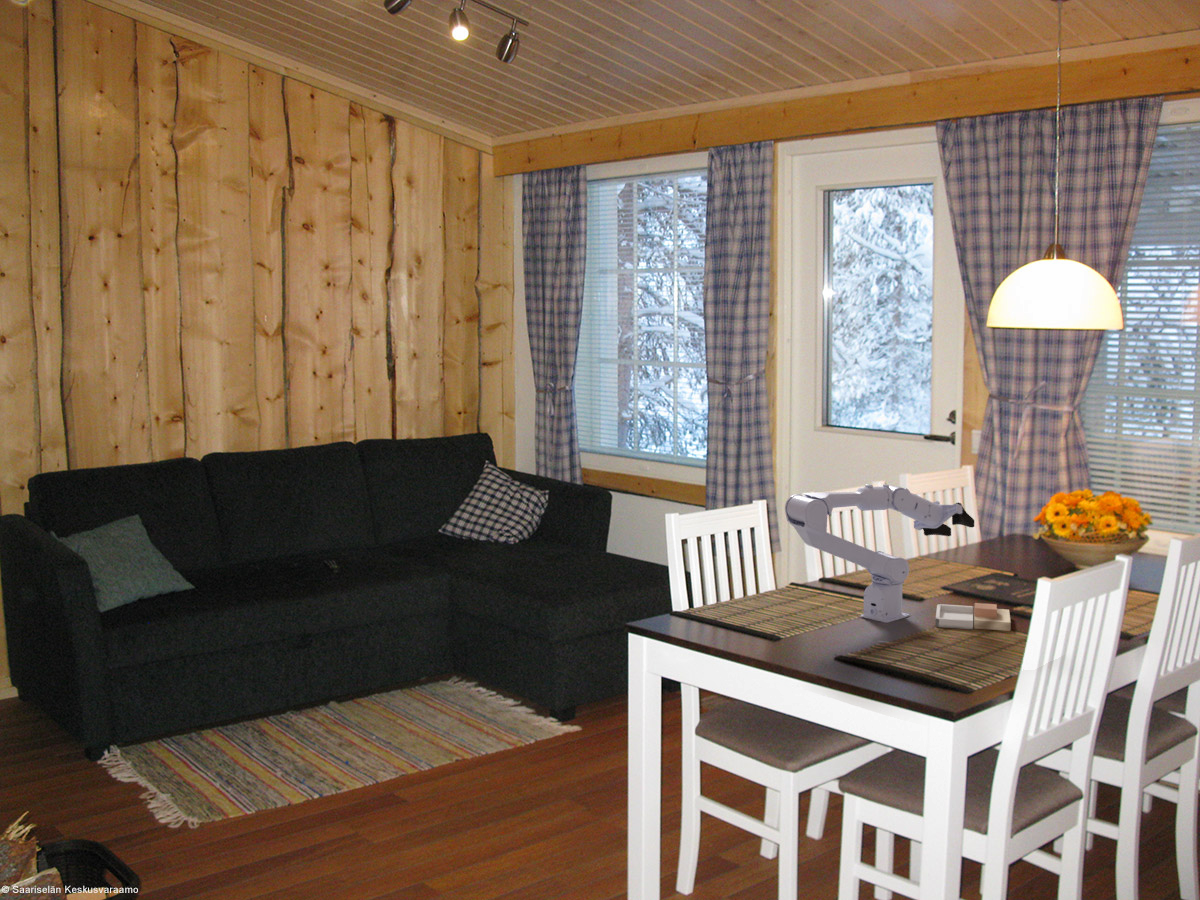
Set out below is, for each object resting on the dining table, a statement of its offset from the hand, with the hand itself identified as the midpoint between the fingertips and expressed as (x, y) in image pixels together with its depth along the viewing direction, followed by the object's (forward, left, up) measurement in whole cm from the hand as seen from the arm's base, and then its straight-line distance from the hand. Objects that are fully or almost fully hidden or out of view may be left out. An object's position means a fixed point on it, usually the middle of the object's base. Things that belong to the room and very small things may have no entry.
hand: (961, 528), depth 280 cm
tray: (-13, -7, -20) cm, 25 cm away
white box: (-8, -14, -20) cm, 26 cm away
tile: (-9, -13, -18) cm, 24 cm away
